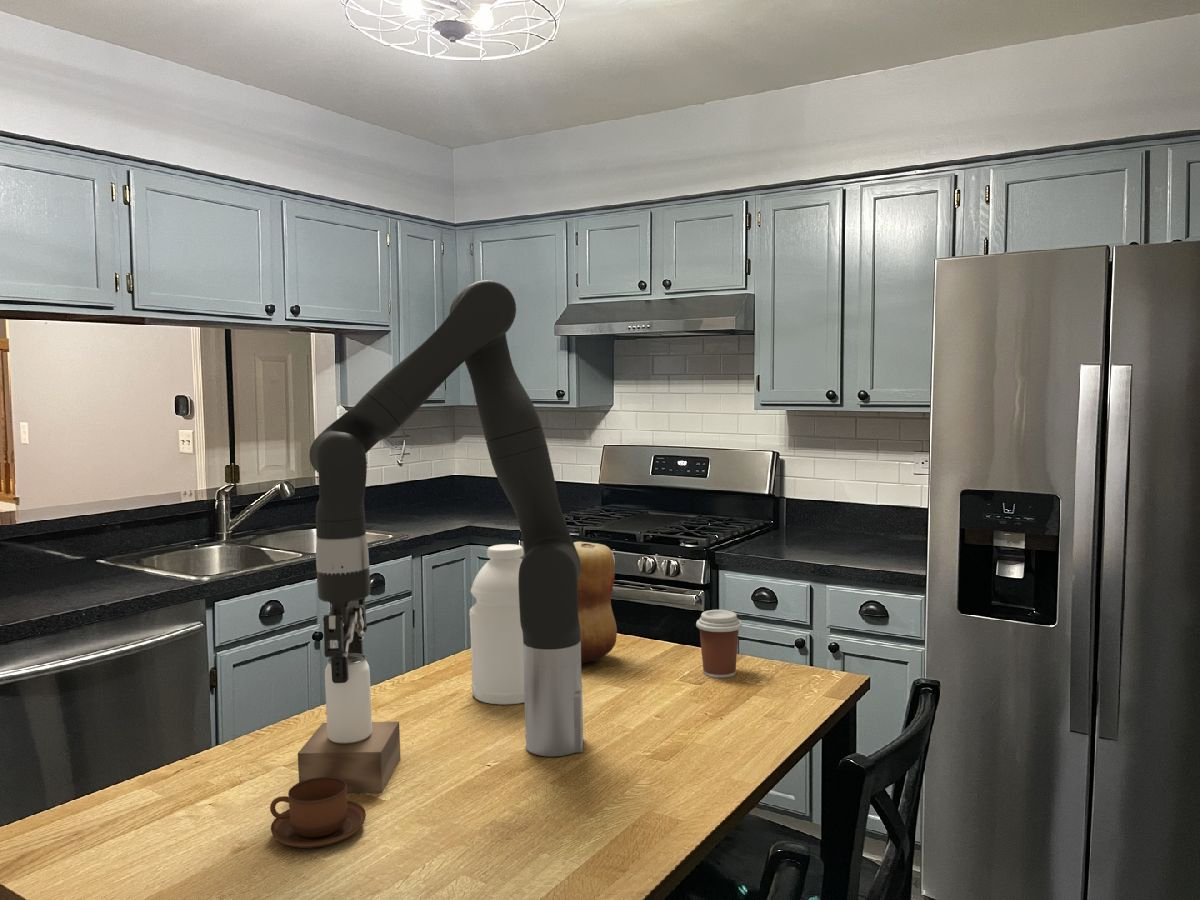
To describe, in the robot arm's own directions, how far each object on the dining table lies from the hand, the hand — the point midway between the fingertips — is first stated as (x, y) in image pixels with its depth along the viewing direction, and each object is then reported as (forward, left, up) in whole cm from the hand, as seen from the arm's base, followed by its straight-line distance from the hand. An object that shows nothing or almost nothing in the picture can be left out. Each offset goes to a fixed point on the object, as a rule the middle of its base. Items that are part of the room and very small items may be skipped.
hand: (348, 673), depth 139 cm
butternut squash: (-34, -55, -16) cm, 67 cm away
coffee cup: (-61, -46, -16) cm, 78 cm away
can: (0, 0, -10) cm, 10 cm away
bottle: (-20, -36, -16) cm, 44 cm away
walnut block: (0, 0, -16) cm, 16 cm away
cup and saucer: (0, +17, -16) cm, 24 cm away
